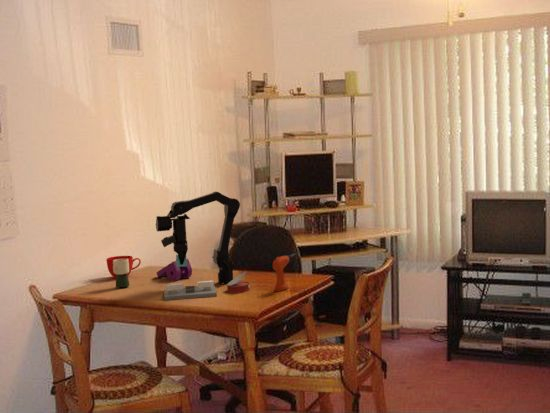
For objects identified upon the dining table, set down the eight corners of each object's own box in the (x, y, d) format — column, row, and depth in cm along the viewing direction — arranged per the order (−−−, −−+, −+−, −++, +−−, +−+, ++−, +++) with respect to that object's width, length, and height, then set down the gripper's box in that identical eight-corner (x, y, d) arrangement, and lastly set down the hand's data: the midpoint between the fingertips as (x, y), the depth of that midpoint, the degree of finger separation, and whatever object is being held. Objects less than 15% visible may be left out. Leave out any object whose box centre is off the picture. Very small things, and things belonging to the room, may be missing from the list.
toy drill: (302, 279, 324) (299, 247, 321) (282, 293, 308) (278, 260, 305) (293, 279, 326) (289, 247, 323) (272, 292, 311) (268, 259, 308)
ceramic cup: (144, 276, 360) (142, 257, 360) (110, 281, 354) (108, 260, 353) (138, 273, 372) (137, 254, 371) (105, 277, 366) (104, 257, 365)
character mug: (124, 284, 342) (122, 257, 341) (136, 285, 339) (134, 258, 338) (108, 289, 332) (106, 261, 331) (121, 290, 329) (119, 262, 328)
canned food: (243, 302, 311) (238, 285, 306) (225, 298, 317) (219, 281, 311) (257, 286, 319) (252, 268, 314) (238, 282, 324) (233, 265, 319)
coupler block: (187, 264, 330) (186, 254, 329) (187, 266, 326) (186, 255, 325) (176, 265, 329) (175, 254, 329) (176, 267, 325) (175, 256, 325)
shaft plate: (214, 288, 321) (214, 277, 321) (216, 296, 305) (216, 284, 305) (165, 292, 318) (164, 281, 318) (164, 300, 303) (163, 288, 302)
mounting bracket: (158, 290, 354) (179, 277, 343) (152, 274, 356) (173, 261, 345) (173, 287, 361) (194, 274, 350) (167, 271, 363) (188, 258, 352)
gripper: (162, 228, 334) (164, 261, 335) (161, 233, 316) (163, 268, 317) (186, 226, 335) (188, 260, 337) (186, 231, 317) (188, 266, 318)
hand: (181, 263), depth 327 cm, fingers closed on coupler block, 4 cm apart
